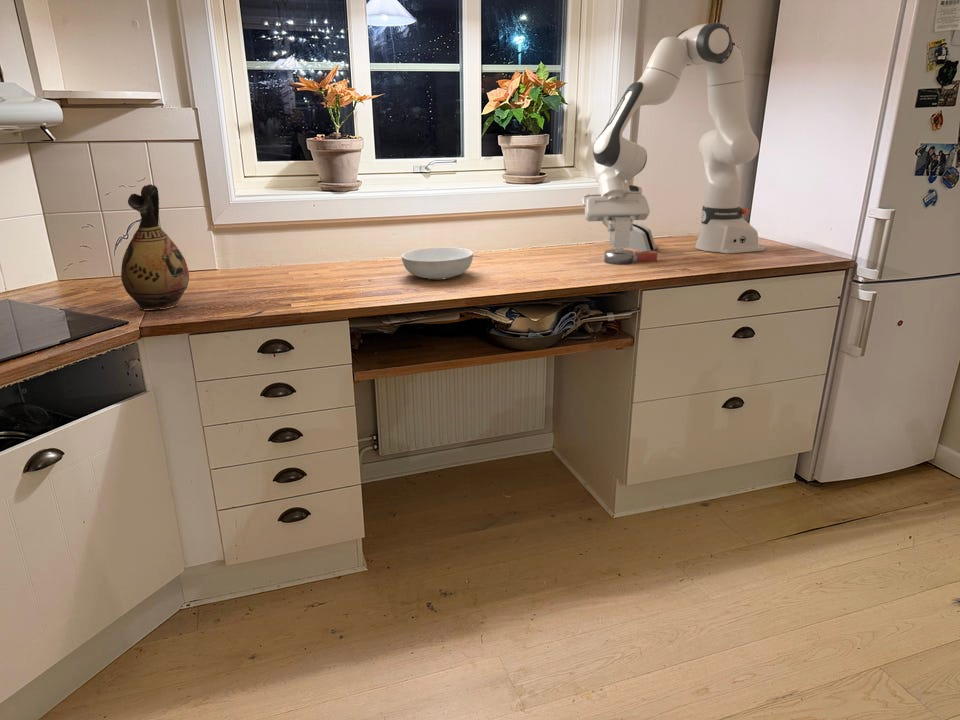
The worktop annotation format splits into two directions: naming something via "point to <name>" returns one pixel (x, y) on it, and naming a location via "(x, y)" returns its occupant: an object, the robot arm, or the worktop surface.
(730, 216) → the robot arm
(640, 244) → the grey black slotted block
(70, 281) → the worktop surface
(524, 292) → the worktop surface
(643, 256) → the grey dome with handle
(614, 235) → the grey block
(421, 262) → the serving bowl
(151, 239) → the ceramic jug
